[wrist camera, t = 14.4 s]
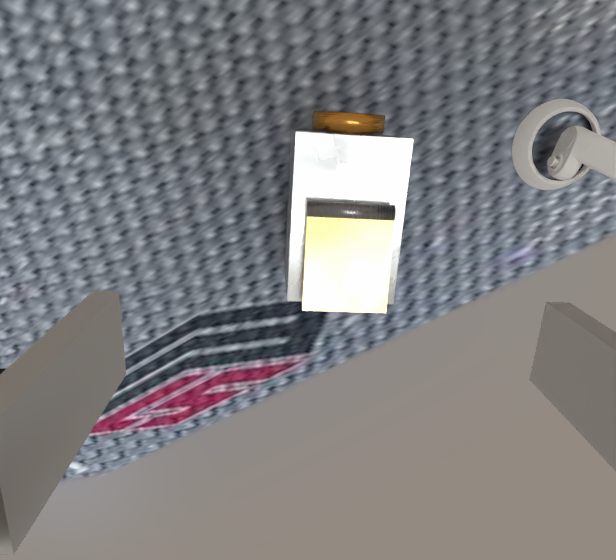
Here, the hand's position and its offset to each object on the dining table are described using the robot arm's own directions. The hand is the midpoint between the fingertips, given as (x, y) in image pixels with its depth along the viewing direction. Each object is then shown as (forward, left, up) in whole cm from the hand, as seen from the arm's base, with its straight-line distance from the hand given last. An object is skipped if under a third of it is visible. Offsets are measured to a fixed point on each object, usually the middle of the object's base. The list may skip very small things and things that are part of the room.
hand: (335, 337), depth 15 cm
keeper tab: (-3, +3, -19) cm, 20 cm away
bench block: (-3, 0, -28) cm, 29 cm away
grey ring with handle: (-22, -6, -29) cm, 37 cm away
